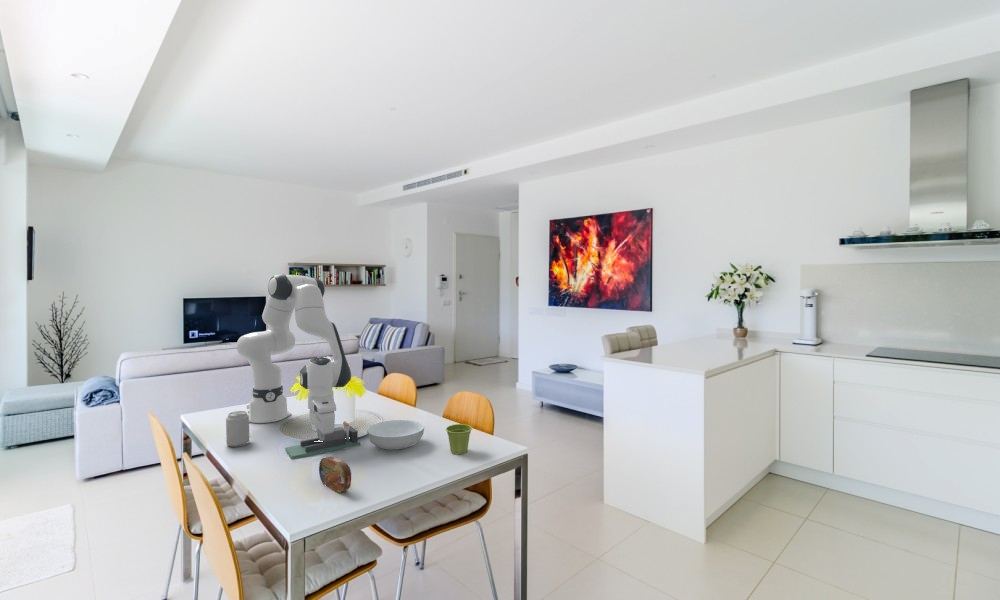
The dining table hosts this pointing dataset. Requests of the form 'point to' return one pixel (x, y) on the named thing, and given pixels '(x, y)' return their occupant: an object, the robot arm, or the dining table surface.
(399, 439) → the serving bowl
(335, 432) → the plug
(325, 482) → the tin
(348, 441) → the header board
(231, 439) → the can
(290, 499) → the dining table surface
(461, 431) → the plant pot
